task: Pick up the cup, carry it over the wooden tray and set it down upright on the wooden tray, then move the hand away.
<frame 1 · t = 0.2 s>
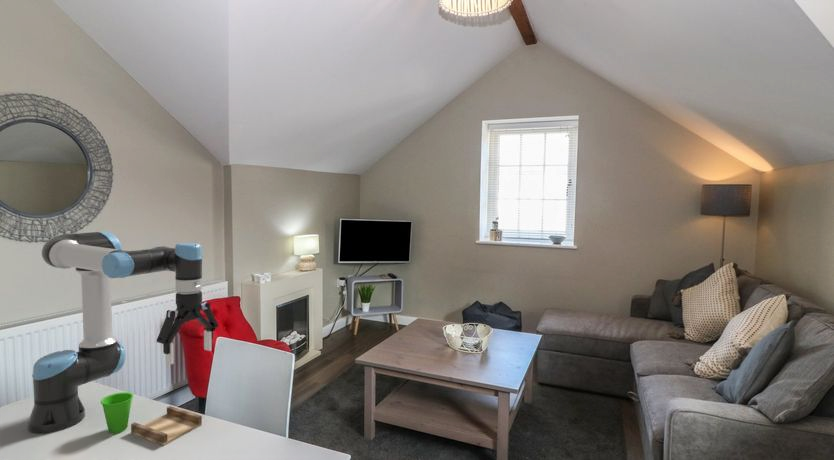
hand: (189, 356, 141), 28 cm above the table, fingers open, 13 cm apart
cup: (118, 430, 147), on the table
wooden tray: (167, 429, 148), on the table
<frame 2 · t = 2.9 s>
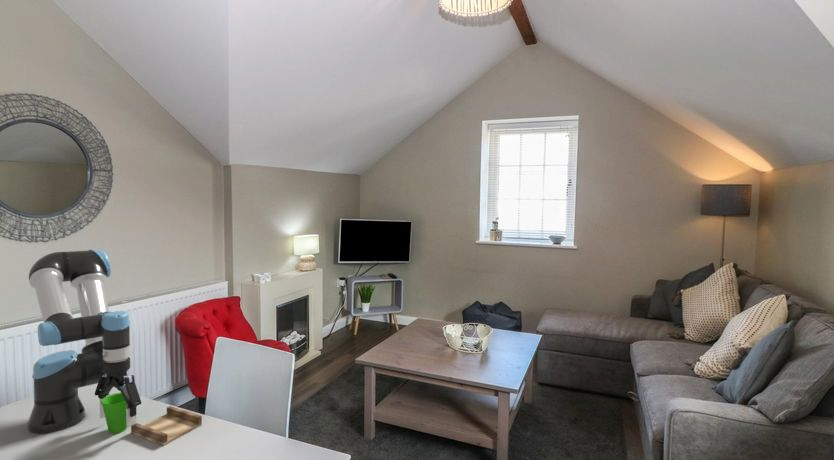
hand: (118, 421, 146), 3 cm above the table, fingers open, 13 cm apart
nothing on the table moved.
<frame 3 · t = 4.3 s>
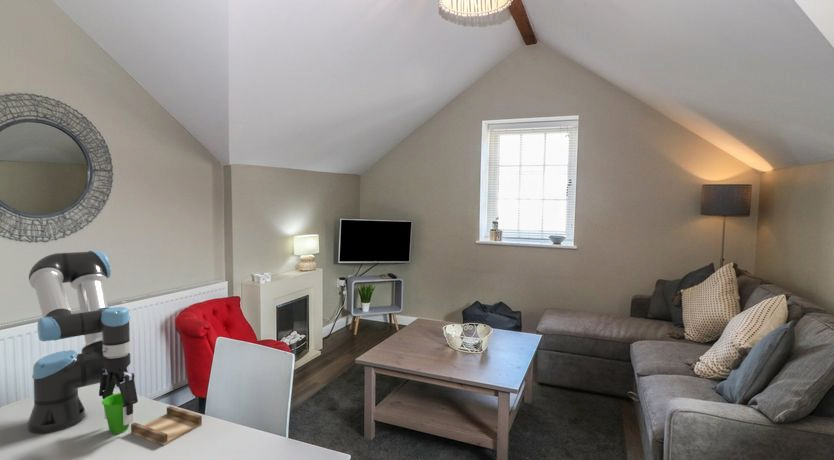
hand: (118, 420, 146), 3 cm above the table, fingers closed on cup, 9 cm apart
cup: (119, 430, 146), on the table, touching gripper
when the fingers open (3 cm above the table, at t = 8.8 s): cup stays where it is, resting on wooden tray.
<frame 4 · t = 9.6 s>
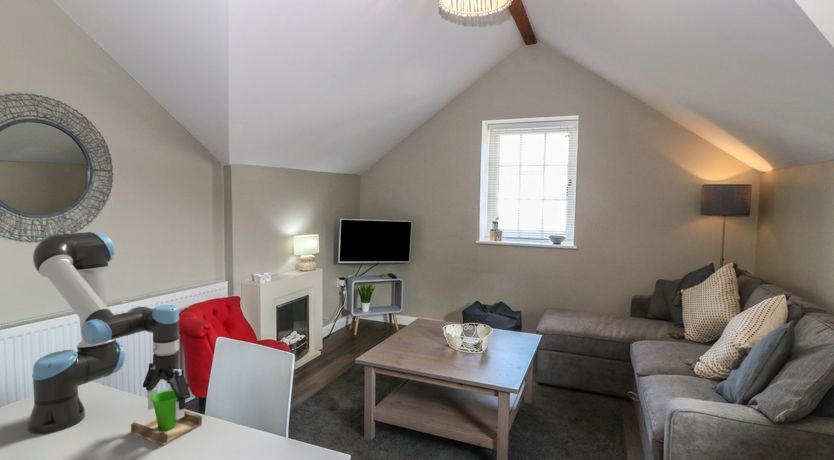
hand: (166, 413, 148), 6 cm above the table, fingers open, 13 cm apart
cup: (167, 427, 148), point 1 cm above the table, touching wooden tray
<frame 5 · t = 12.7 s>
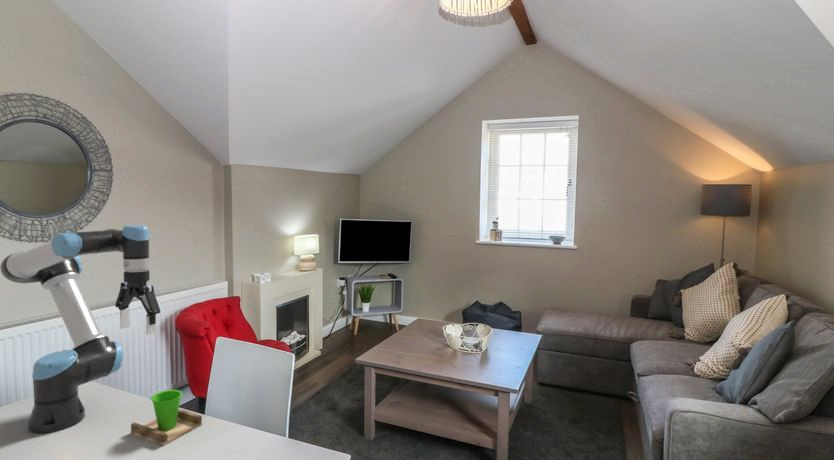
hand: (137, 330, 152), 32 cm above the table, fingers open, 13 cm apart
nothing on the table moved.
at the end: cup inside the target area on the wooden tray (0.1 cm from its centre), point 0.6 cm above the wooden tray's base; cup tilted 0°; the gripper is holding nothing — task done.
